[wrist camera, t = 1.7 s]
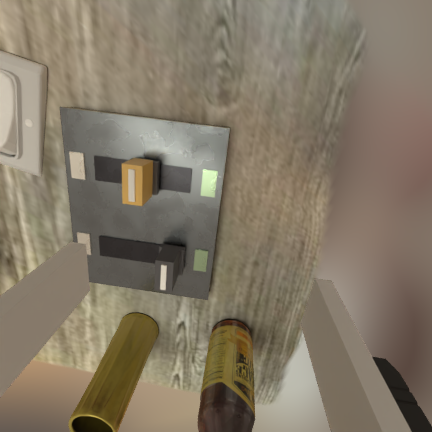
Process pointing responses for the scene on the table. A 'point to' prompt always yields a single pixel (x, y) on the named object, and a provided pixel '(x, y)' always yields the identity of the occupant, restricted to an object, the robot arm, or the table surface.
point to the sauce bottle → (228, 381)
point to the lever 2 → (168, 267)
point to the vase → (116, 376)
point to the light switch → (22, 113)
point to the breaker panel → (155, 207)
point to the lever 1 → (139, 180)
